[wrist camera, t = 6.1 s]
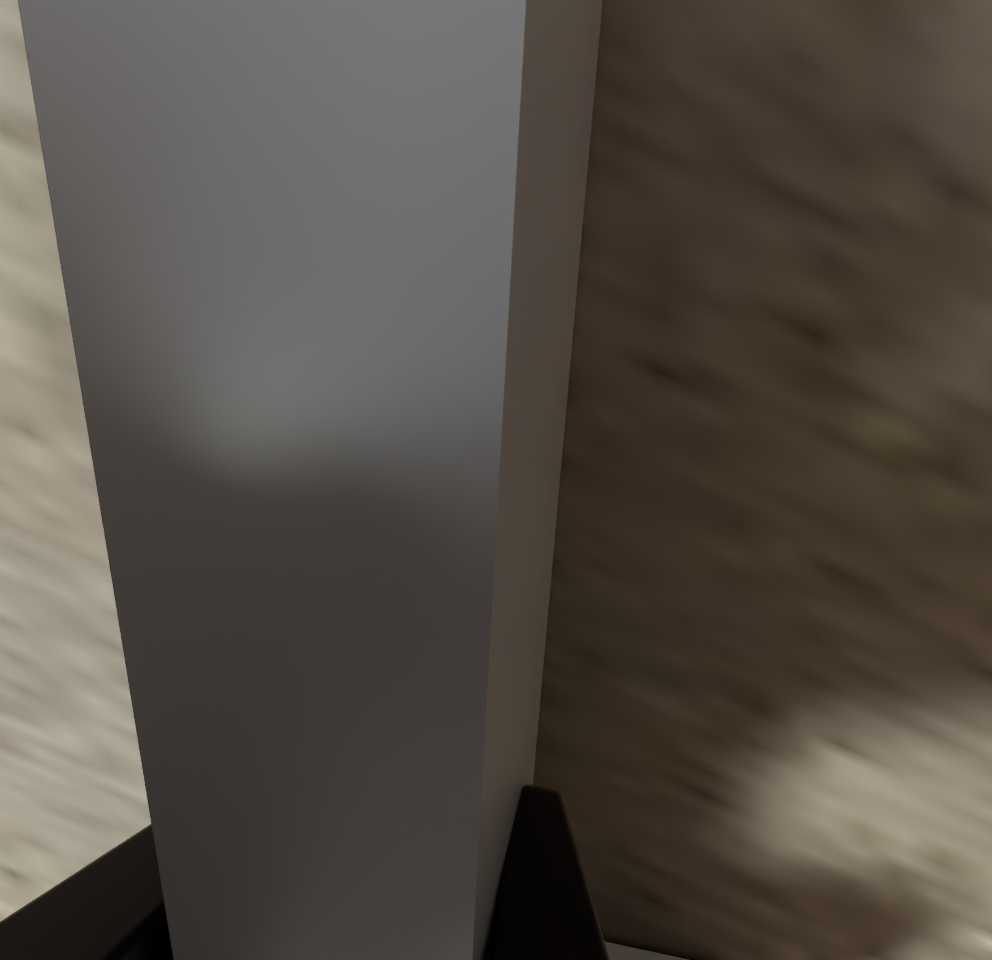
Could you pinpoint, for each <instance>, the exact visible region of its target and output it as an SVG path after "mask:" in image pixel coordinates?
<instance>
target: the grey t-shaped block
mask: <svg viewBox="0 0 992 960" xmlns="http://www.w3.org/2000/svg"><path fill="white" fill-rule="evenodd" d="M18 4H19V10H20V17H21V23H22V29H23V35H24V41H25V47H26V53H27V60H28V66H29V72H30V78H31V84H32V90H33V97H34V103H35V109H36V115H37V121H38V127H39V134H40V140H41V146H42V152H43V158H44V164H45V171H46V177H47V183H48V189H49V195H50V201H51V207H52V214H53V220H54V226H55V232H56V238H57V244H58V251H59V257H60V263H61V269H62V275H63V281H64V288H65V294H66V300H67V306H68V312H69V318H70V325H71V331H72V337H73V343H74V349H75V355H76V361H77V368H78V374H79V380H80V386H81V392H82V398H83V405H84V411H85V417H86V423H87V429H88V435H89V442H90V448H91V454H92V460H93V466H94V472H95V479H96V485H97V491H98V497H99V503H100V509H101V515H102V522H103V528H104V534H105V540H106V546H107V552H108V559H109V565H110V571H111V577H112V583H113V589H114V596H115V602H116V608H117V614H118V620H119V626H120V632H121V639H122V645H123V651H124V657H125V663H126V669H127V676H128V682H129V688H130V694H131V700H132V706H133V713H134V719H135V725H136V731H137V737H138V743H139V750H140V756H141V762H142V768H143V774H144V780H145V786H146V793H147V799H148V805H149V811H150V817H151V823H152V830H153V836H154V842H155V848H156V854H157V860H158V867H159V873H160V879H161V885H162V891H163V897H164V904H165V910H166V916H167V922H168V928H169V934H170V940H171V947H172V953H173V959H174V960H494V954H495V939H496V925H497V910H498V896H499V886H500V878H501V873H502V869H503V865H504V860H505V856H506V852H507V848H508V844H509V840H510V836H511V832H512V828H513V824H514V820H515V816H516V812H517V808H518V804H519V799H520V795H521V791H522V788H523V787H524V786H525V785H533V778H534V766H535V755H536V744H537V733H538V722H539V710H540V699H541V688H542V677H543V666H544V654H545V643H546V632H547V621H548V609H549V598H550V587H551V576H552V565H553V553H554V542H555V531H556V520H557V509H558V497H559V486H560V475H561V464H562V453H563V441H564V430H565V419H566V408H567V397H568V385H569V374H570V363H571V352H572V341H573V329H574V318H575V307H576V296H577V285H578V273H579V262H580V251H581V240H582V229H583V217H584V206H585V195H586V184H587V173H588V161H589V150H590V139H591V128H592V117H593V105H594V94H595V83H596V72H597V61H598V49H599V38H600V27H601V16H602V5H603V0H18ZM605 945H606V948H607V951H608V955H609V958H610V960H688V959H683V958H679V957H674V956H669V955H665V954H660V953H655V952H651V951H646V950H641V949H637V948H632V947H627V946H623V945H618V944H613V943H609V942H605Z"/></svg>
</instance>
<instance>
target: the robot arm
mask: <svg viewBox="0 0 992 960" xmlns="http://www.w3.org/2000/svg"><path fill="white" fill-rule="evenodd" d="M0 960H174V959H173V953H172V947H171V940H170V934H169V928H168V922H167V916H166V910H165V904H164V897H163V891H162V885H161V879H160V873H159V867H158V860H157V854H156V848H155V842H154V836H153V830H152V824H150V825H149V826H147V827H146V828H144V829H143V830H141V831H140V832H138V833H136V834H135V835H133V836H132V837H130V838H129V839H127V840H126V841H124V842H123V843H121V844H119V845H118V846H116V847H115V848H113V849H112V850H110V851H109V852H107V853H106V854H104V855H102V856H101V857H99V858H98V859H96V860H95V861H93V862H92V863H90V864H89V865H87V866H86V867H84V868H82V869H81V870H79V871H78V872H76V873H75V874H73V875H72V876H70V877H69V878H67V879H65V880H64V881H62V882H61V883H59V884H58V885H56V886H55V887H53V888H52V889H50V890H48V891H47V892H45V893H44V894H42V895H41V896H39V897H38V898H36V899H35V900H33V901H32V902H30V903H28V904H27V905H25V906H24V907H22V908H21V909H19V910H18V911H16V912H15V913H13V914H11V915H10V916H8V917H7V918H5V919H4V920H2V921H1V922H0ZM494 960H610V958H609V955H608V951H607V948H606V945H605V941H604V938H603V934H602V931H601V928H600V924H599V921H598V918H597V914H596V911H595V908H594V904H593V901H592V898H591V894H590V891H589V887H588V884H587V881H586V877H585V874H584V871H583V867H582V864H581V861H580V857H579V854H578V851H577V847H576V844H575V840H574V837H573V834H572V830H571V827H570V824H569V820H568V817H567V814H566V810H565V807H564V803H563V800H562V797H561V795H560V793H559V792H558V791H557V790H555V789H551V788H546V787H540V786H535V785H525V786H524V787H523V788H522V791H521V795H520V799H519V804H518V808H517V812H516V816H515V820H514V824H513V828H512V832H511V836H510V840H509V844H508V848H507V852H506V856H505V860H504V865H503V869H502V873H501V878H500V886H499V896H498V910H497V925H496V939H495V954H494Z"/></svg>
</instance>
